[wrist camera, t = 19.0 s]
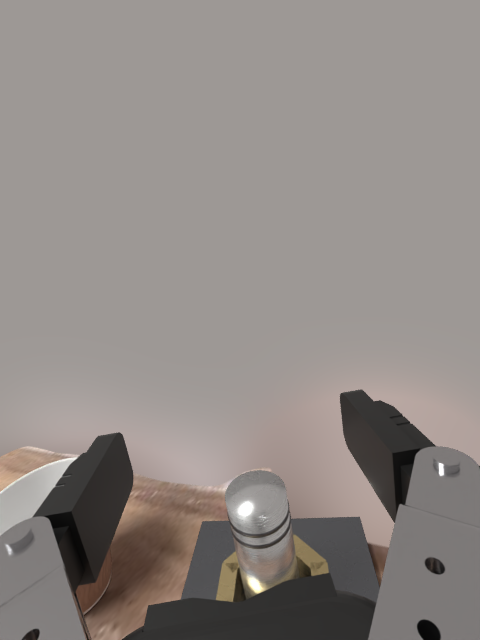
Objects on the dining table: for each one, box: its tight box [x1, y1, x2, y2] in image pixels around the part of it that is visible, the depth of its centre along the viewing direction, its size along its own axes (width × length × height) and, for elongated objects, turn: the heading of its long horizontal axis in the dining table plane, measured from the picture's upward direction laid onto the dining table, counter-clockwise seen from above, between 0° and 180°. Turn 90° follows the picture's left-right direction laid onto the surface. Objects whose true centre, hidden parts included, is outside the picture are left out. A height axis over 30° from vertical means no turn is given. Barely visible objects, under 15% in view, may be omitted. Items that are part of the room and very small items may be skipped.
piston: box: [225, 470, 300, 600], centre depth 26 cm, size 5×5×12 cm
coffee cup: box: [0, 457, 112, 615], centre depth 32 cm, size 10×10×12 cm
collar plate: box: [181, 517, 380, 603], centre depth 28 cm, size 18×18×3 cm
